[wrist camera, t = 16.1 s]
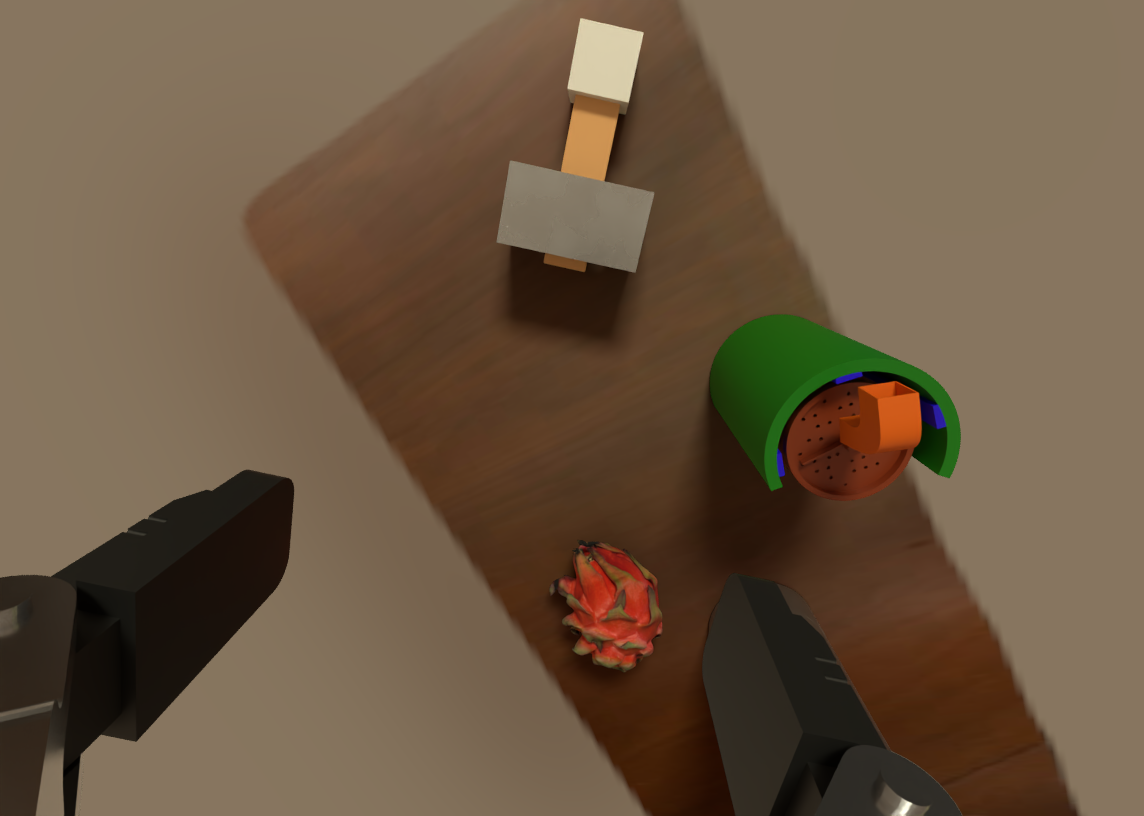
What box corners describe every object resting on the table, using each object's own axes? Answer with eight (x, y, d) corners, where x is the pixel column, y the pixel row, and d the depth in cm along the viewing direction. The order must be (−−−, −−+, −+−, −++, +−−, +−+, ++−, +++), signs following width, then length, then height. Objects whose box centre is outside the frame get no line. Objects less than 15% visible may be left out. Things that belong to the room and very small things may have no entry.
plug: (592, 271, 44) (591, 274, 40) (540, 260, 44) (535, 262, 40) (639, 52, 40) (643, 32, 36) (582, 39, 40) (580, 18, 36)
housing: (630, 267, 44) (635, 272, 38) (510, 241, 44) (496, 242, 38) (646, 198, 43) (654, 192, 36) (522, 171, 42) (510, 160, 36)
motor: (725, 442, 48) (811, 580, 28) (693, 340, 45) (764, 415, 26) (849, 403, 46) (1028, 520, 27) (823, 295, 44) (998, 340, 25)
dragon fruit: (626, 630, 55) (581, 514, 54) (703, 638, 49) (655, 508, 48) (569, 690, 49) (517, 561, 48) (649, 708, 43) (593, 560, 42)
